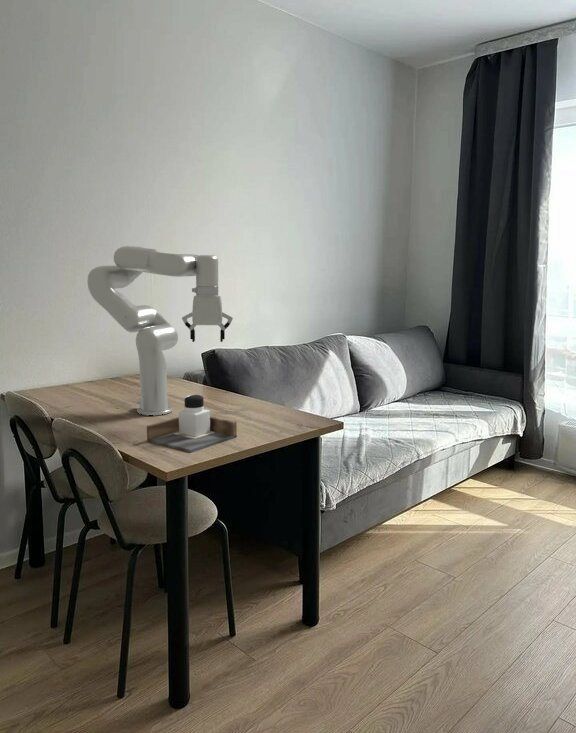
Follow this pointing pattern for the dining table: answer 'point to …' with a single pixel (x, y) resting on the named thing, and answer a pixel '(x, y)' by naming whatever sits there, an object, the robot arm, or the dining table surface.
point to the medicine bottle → (194, 417)
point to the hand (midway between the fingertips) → (207, 341)
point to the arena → (170, 435)
